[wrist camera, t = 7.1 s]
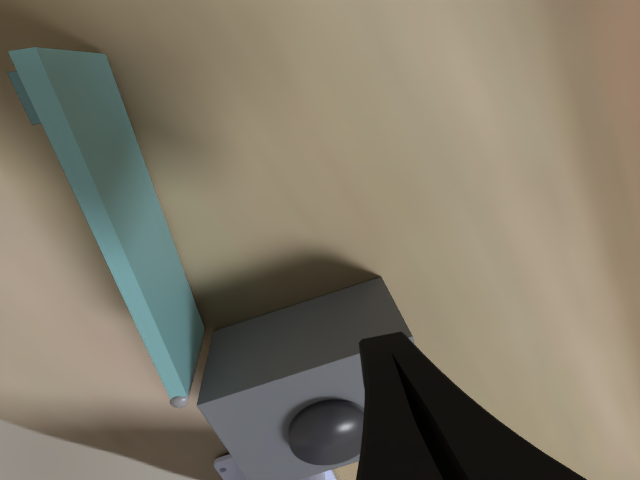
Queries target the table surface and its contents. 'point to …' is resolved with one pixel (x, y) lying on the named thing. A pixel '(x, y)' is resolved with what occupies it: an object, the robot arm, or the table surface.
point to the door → (115, 200)
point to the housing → (296, 382)
